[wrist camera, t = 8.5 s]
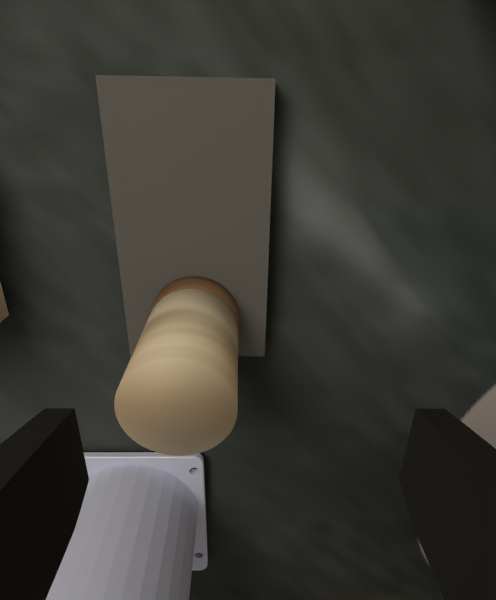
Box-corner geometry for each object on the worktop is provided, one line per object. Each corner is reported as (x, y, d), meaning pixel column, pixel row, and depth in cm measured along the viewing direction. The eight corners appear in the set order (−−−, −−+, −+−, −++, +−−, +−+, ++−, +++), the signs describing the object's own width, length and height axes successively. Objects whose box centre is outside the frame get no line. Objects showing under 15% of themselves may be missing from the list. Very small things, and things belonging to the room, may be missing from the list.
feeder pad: (263, 344, 19) (264, 356, 18) (135, 344, 19) (130, 355, 18) (273, 80, 15) (275, 78, 14) (104, 77, 15) (95, 74, 14)
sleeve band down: (239, 353, 18) (238, 456, 13) (156, 353, 18) (120, 457, 13) (239, 276, 17) (239, 357, 11) (148, 275, 17) (104, 356, 11)
